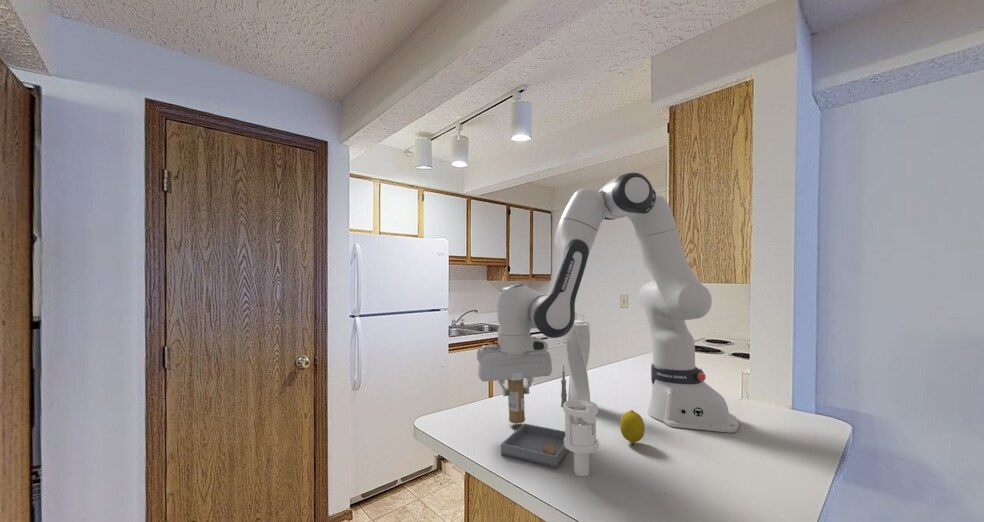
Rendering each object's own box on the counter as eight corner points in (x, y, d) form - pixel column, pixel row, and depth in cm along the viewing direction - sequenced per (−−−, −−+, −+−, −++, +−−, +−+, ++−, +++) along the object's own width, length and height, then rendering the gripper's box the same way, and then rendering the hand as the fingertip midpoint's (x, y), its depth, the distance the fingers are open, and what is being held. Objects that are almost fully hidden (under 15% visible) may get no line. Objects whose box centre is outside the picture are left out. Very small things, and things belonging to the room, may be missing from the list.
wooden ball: (558, 457, 85) (558, 443, 85) (553, 463, 82) (553, 449, 82) (545, 454, 86) (545, 440, 86) (540, 460, 83) (540, 446, 83)
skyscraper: (571, 399, 124) (570, 313, 125) (595, 404, 120) (593, 315, 120) (560, 407, 118) (558, 316, 118) (585, 413, 113) (583, 318, 114)
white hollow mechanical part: (577, 485, 75) (576, 407, 75) (557, 468, 81) (556, 397, 81) (606, 476, 77) (605, 402, 78) (584, 461, 84) (583, 392, 84)
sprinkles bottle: (528, 421, 103) (527, 371, 103) (515, 425, 101) (513, 374, 101) (518, 416, 107) (516, 368, 107) (505, 420, 104) (503, 370, 105)
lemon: (644, 440, 94) (643, 407, 94) (645, 450, 89) (644, 415, 89) (620, 437, 96) (619, 405, 96) (620, 447, 90) (619, 413, 91)
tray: (574, 443, 92) (574, 433, 92) (556, 468, 81) (556, 457, 81) (524, 433, 99) (524, 423, 99) (501, 455, 87) (500, 444, 87)
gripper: (478, 348, 99) (480, 402, 99) (553, 343, 103) (555, 394, 103) (474, 344, 105) (476, 394, 105) (545, 339, 109) (547, 387, 109)
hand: (515, 394), depth 104 cm, fingers closed on sprinkles bottle, 4 cm apart
